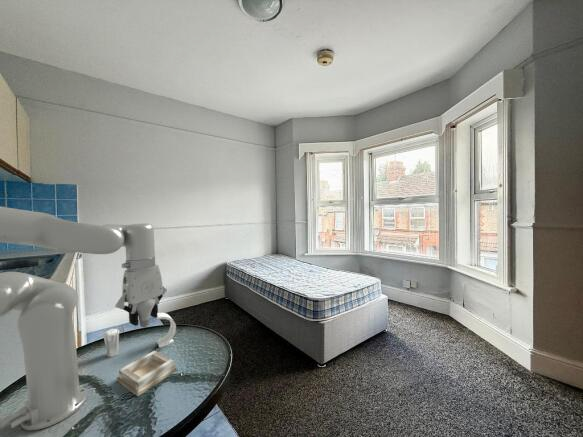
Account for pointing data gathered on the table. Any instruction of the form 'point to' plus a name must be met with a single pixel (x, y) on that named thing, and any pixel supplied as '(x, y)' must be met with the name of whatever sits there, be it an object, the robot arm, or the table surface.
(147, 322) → the lightbulb
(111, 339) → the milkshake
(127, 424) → the table surface
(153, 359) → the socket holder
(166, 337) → the white curved piece
